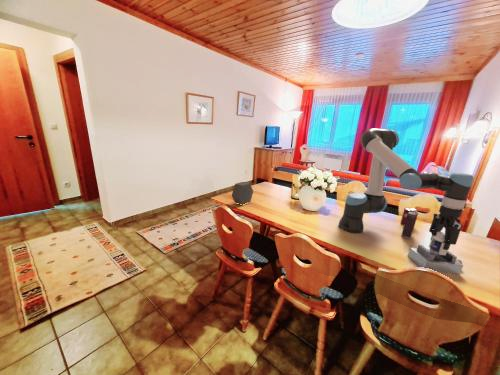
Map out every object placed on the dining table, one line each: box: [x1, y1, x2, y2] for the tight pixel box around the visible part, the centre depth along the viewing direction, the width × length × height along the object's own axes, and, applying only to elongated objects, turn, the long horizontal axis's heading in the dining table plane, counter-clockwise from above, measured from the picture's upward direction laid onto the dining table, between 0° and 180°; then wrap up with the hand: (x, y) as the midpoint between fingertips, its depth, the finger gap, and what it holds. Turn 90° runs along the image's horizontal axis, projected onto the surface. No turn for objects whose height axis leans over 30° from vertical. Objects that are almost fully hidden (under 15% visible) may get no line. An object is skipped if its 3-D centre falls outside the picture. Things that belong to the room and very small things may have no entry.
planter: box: [231, 181, 254, 206], centre depth 171 cm, size 17×8×21 cm
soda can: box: [400, 207, 418, 226], centre depth 146 cm, size 7×7×12 cm
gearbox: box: [407, 244, 464, 275], centre depth 102 cm, size 20×12×8 cm, turn 85°
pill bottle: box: [429, 231, 445, 254], centre depth 100 cm, size 5×5×10 cm
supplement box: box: [400, 210, 419, 240], centre depth 129 cm, size 9×5×16 cm, turn 137°
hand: (436, 250), depth 101 cm, fingers closed on pill bottle, 5 cm apart
